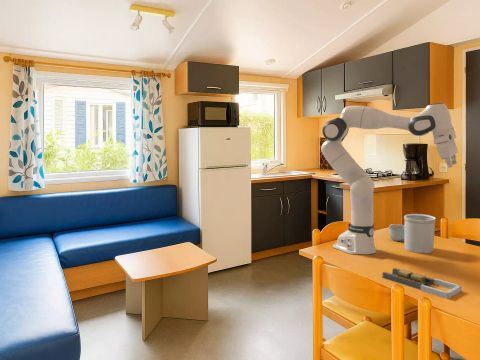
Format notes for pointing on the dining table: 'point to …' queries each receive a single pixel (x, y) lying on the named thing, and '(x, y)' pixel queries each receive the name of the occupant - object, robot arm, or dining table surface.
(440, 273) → the dining table surface
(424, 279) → the yellow cube
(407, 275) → the tan yellow cube
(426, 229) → the utensil holder
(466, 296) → the dining table surface
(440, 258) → the dining table surface
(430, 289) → the tray
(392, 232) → the teacup
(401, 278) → the slot bed
